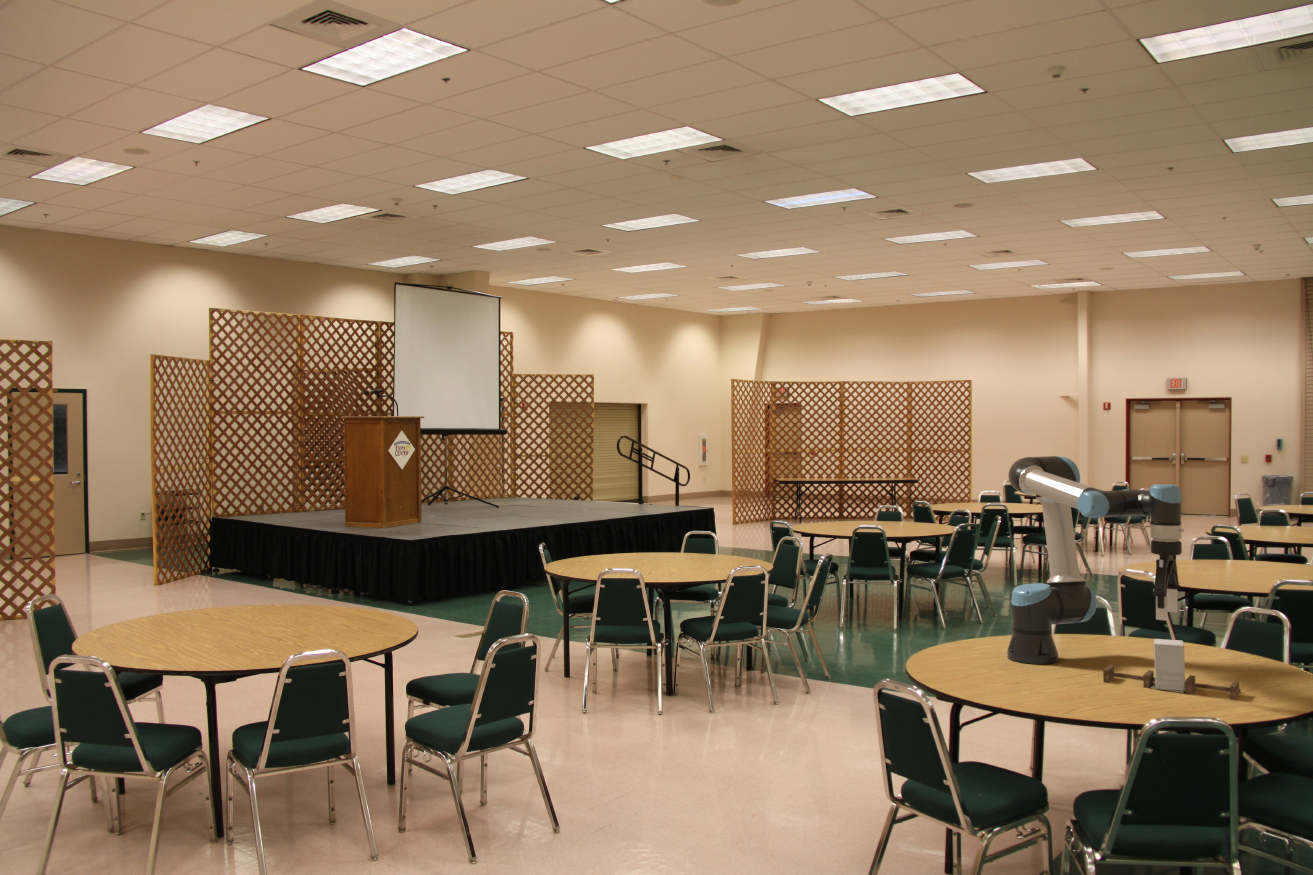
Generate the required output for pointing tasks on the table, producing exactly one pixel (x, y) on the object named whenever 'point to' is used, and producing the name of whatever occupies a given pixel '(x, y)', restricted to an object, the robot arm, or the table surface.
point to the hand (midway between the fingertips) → (1166, 615)
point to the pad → (1167, 689)
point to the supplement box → (1169, 664)
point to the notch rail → (1189, 682)
